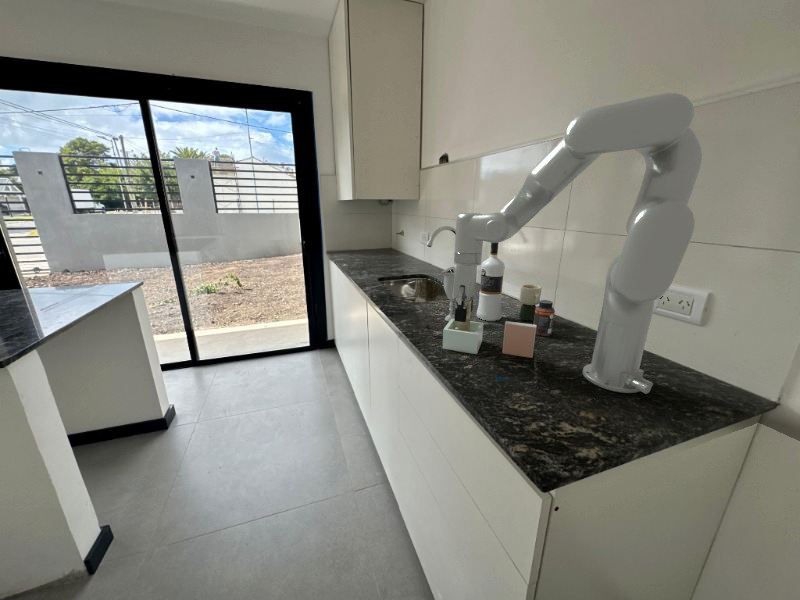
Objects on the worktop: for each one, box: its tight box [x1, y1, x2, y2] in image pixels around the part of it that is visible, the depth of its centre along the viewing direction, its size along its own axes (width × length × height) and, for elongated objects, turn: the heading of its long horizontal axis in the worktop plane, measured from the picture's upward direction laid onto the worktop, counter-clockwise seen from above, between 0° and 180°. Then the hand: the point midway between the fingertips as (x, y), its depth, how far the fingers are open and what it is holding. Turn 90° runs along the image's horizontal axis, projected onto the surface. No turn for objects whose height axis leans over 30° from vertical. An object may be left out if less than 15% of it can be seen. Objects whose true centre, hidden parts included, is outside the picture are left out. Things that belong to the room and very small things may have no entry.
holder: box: [442, 319, 484, 355], centre depth 95 cm, size 10×10×7 cm
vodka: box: [476, 242, 505, 322], centre depth 118 cm, size 9×9×30 cm
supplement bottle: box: [532, 299, 556, 337], centre depth 105 cm, size 6×6×11 cm
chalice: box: [442, 272, 455, 322], centre depth 115 cm, size 7×7×18 cm
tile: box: [502, 320, 536, 359], centre depth 88 cm, size 8×2×10 cm, turn 68°
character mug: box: [518, 284, 542, 321], centre depth 118 cm, size 11×7×13 cm, turn 8°
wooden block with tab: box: [455, 299, 473, 332], centre depth 93 cm, size 5×3×14 cm, turn 68°
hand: (463, 316), depth 93 cm, fingers open, 9 cm apart
